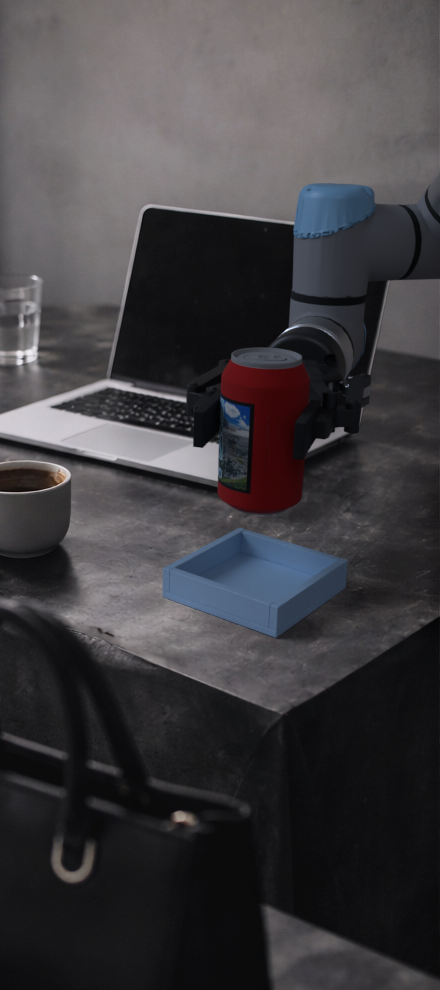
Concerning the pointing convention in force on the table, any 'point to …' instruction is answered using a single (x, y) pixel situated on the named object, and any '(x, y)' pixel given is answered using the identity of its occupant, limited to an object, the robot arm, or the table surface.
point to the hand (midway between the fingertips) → (248, 435)
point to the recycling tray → (255, 580)
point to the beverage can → (261, 430)
